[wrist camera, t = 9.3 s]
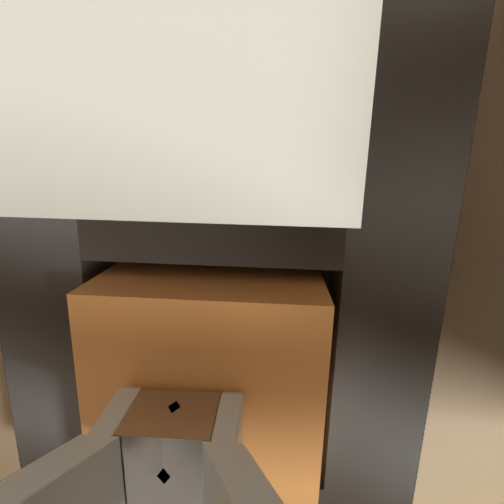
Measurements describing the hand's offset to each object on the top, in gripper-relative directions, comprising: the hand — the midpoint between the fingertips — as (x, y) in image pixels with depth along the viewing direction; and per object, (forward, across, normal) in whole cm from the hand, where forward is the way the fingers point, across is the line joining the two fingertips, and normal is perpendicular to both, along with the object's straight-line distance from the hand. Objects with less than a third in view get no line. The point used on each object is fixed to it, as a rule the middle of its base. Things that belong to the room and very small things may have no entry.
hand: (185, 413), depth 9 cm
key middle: (+2, 0, -8) cm, 8 cm away
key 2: (+3, 0, 0) cm, 3 cm away
